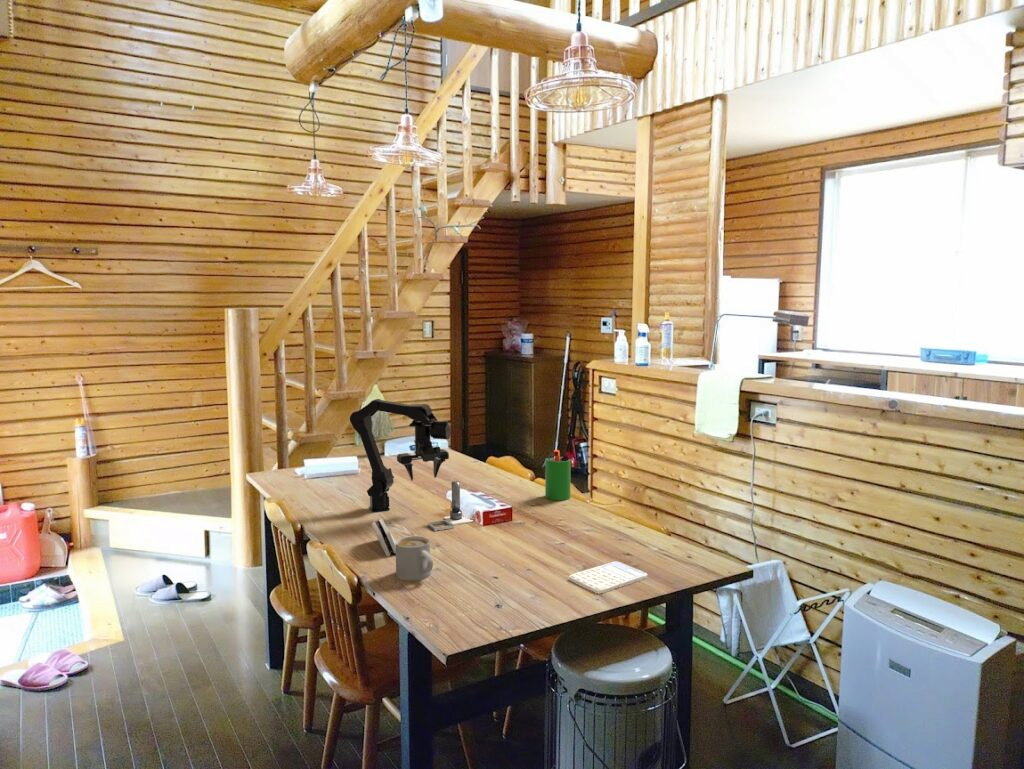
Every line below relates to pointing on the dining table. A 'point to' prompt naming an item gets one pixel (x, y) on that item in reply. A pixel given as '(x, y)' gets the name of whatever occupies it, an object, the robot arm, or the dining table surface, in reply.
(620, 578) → the calculator
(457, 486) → the grey metal post
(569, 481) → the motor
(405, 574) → the coffee mug
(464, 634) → the dining table surface
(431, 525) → the gray square frame
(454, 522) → the mat
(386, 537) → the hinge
